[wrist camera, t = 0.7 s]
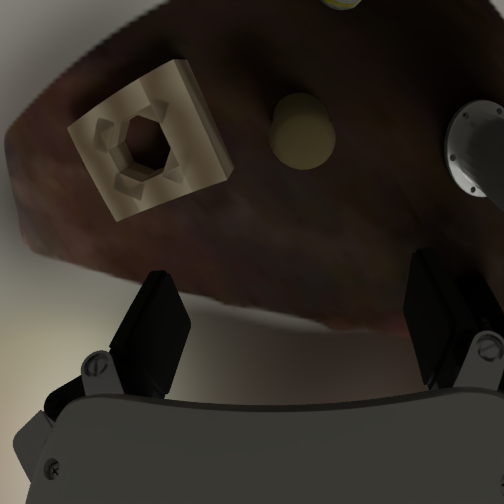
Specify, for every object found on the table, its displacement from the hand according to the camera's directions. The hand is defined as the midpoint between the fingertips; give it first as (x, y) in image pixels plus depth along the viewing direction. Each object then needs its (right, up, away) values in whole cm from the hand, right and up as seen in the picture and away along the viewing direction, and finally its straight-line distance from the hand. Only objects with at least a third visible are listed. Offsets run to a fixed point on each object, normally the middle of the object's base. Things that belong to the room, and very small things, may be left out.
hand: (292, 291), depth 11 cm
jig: (-13, +15, +22) cm, 30 cm away
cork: (+4, +16, +19) cm, 25 cm away
